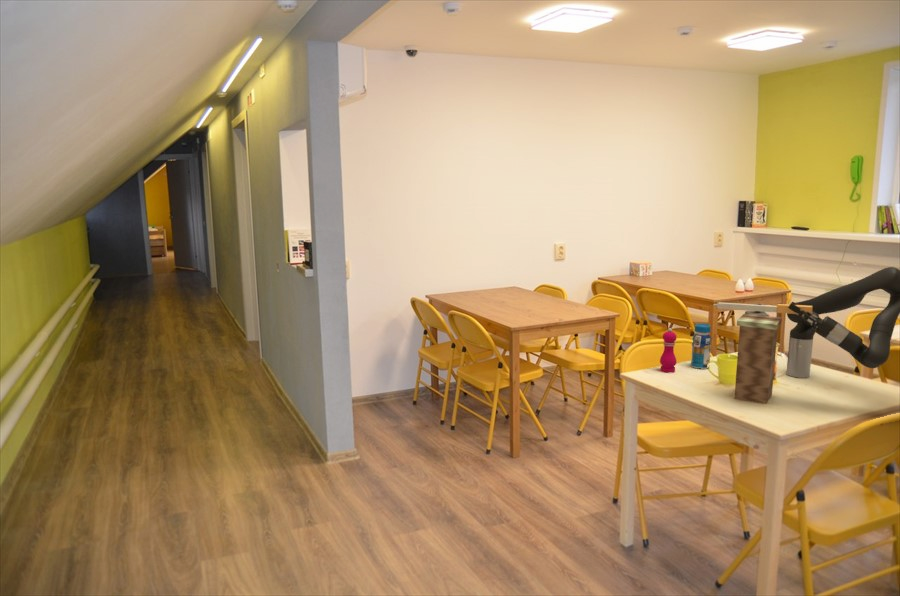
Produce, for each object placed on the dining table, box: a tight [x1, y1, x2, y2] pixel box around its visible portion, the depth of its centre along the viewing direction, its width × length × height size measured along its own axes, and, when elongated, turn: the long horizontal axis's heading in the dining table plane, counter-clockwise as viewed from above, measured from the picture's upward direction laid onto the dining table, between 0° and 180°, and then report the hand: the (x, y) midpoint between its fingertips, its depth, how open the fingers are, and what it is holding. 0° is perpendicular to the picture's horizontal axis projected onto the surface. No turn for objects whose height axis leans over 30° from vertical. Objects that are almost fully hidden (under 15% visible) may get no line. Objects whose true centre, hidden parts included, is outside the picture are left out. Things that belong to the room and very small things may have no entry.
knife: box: [713, 301, 813, 314], centre depth 261 cm, size 36×3×3 cm, turn 57°
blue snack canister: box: [690, 323, 712, 370], centre depth 304 cm, size 8×8×20 cm
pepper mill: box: [659, 327, 677, 373], centre depth 299 cm, size 7×7×20 cm
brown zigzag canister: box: [733, 313, 783, 405], centre depth 262 cm, size 14×15×32 cm
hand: (790, 304), depth 255 cm, fingers closed on knife, 3 cm apart
